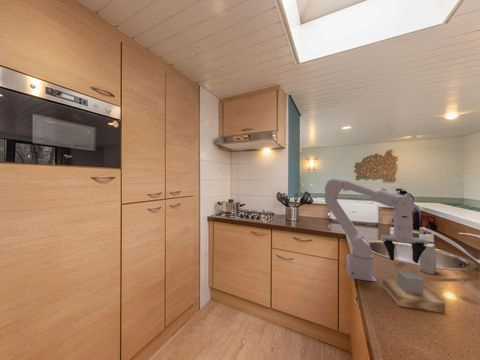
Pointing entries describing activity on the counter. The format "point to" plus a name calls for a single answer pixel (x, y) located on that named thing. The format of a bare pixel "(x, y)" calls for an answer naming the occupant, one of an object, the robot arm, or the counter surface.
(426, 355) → the counter surface
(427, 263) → the skincare box
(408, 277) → the grey cube
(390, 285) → the oak base
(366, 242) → the robot arm
